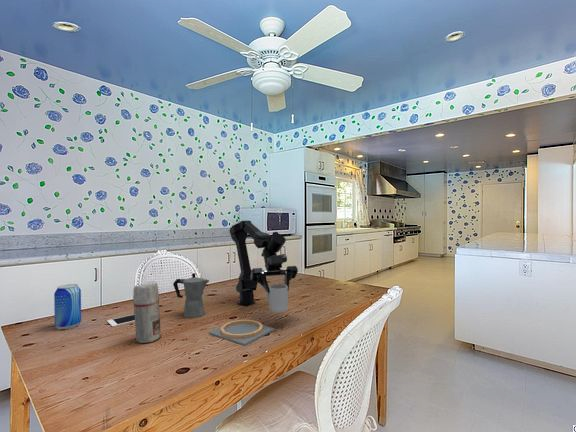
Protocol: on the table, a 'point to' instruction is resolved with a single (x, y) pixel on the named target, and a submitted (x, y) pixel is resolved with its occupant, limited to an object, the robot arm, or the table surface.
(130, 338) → the table surface
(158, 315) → the spray can
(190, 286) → the coffeepot
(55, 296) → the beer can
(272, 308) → the cup
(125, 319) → the cell phone
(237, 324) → the collar mat
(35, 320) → the table surface
